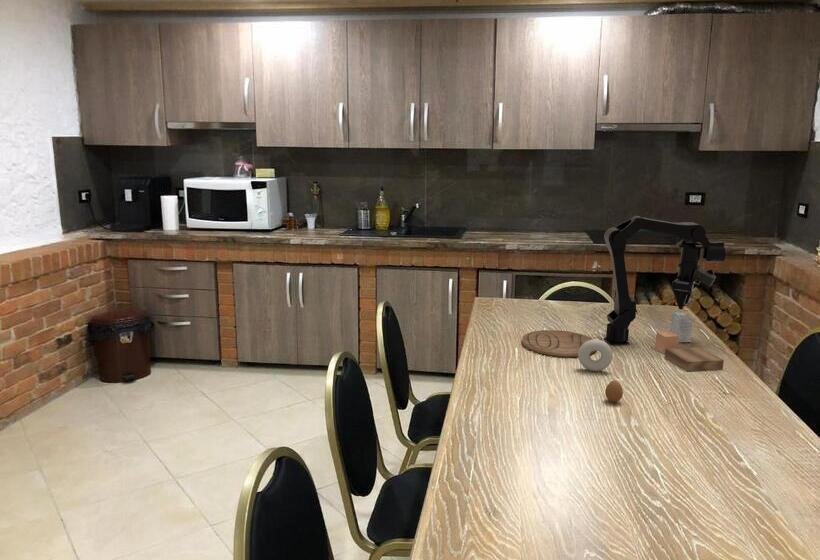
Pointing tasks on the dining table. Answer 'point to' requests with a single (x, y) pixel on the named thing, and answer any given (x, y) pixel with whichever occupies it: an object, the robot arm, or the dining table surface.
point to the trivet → (555, 343)
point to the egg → (614, 391)
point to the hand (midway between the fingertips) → (683, 306)
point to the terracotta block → (666, 341)
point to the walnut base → (694, 359)
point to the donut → (592, 346)
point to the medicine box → (682, 326)
